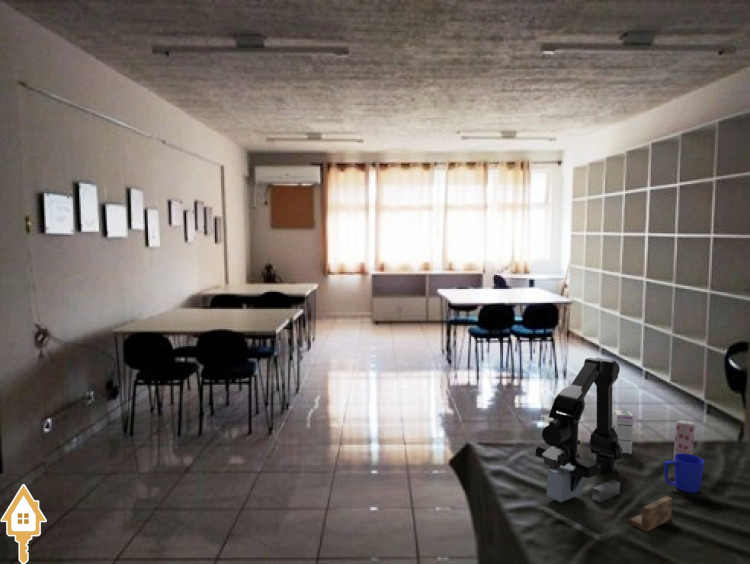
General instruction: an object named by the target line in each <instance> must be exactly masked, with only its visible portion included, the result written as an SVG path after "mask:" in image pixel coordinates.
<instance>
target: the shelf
mask: <svg viewBox="0 0 750 564" xmlns="http://www.w3.org/2000/svg"><path fill="white" fill-rule="evenodd" d="M672 506H673V498H672V497H670V496H668V495H666V496H664V497H663V496H662V498H660V499H657V500H654V501H653V502H651V503H649V504H647V505H645V506H642V512H641V513H639V514H638V515H636V516H634V517H632V518H628V519H627V520H625V523H628V524H630V525H632V526H634V527H636V528H638V529H641V530H643V531H645V532H646V533H648V532H650V531H651V530H653V529H656V528H657V527H659V526H661V525H663V524H665V523H667V522H669V521H670V520H671V519H672V510H673V509H672ZM671 521H672V520H671Z"/></svg>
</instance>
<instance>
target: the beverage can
mask: <svg viewBox="0 0 750 564" xmlns="http://www.w3.org/2000/svg"><path fill="white" fill-rule="evenodd" d="M674 433H675V434H674V435H675V436H674V447H673V448H674V449H673V457H674V456H675V455H676V454H680V453H684V454H691V455H694V452H693V451H694V439H695V423H694V421H691V420H688V419H683V418H682V419H677V420H676V423H675V432H674ZM672 461H675V459H674V458H673V460H672Z"/></svg>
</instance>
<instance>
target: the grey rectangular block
mask: <svg viewBox="0 0 750 564" xmlns="http://www.w3.org/2000/svg"><path fill="white" fill-rule="evenodd" d="M620 491H621V482H619V481H617V480H614V479H611V480H609V481H606V482H604V483H602V484H599V485H596V486H593V487H592V494H591V495H592V497H591V499H592V500H593V501H595V502H597V503H601V502H605V501H606V500H608V499H611V498H613V497H615V496H618V495H620Z"/></svg>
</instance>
